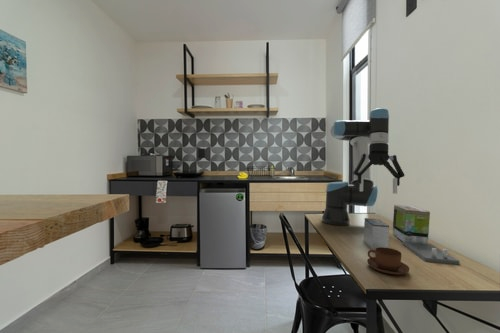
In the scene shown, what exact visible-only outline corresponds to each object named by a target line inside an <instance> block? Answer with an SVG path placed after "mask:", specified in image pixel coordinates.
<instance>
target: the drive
mask: <svg viewBox="0 0 500 333" xmlns="http://www.w3.org/2000/svg"><path fill="white" fill-rule="evenodd" d="M363 224H364V226H363V229H364V230H363V242H365V244H366V245H368V247H369V248H370V250H374V251H376V248H379V247H384V248H389V236H390V225H389V224H387V223H386V222H384V221H382V220H381V219H380V218H367V217H365V218H364V223H363Z"/></svg>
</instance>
